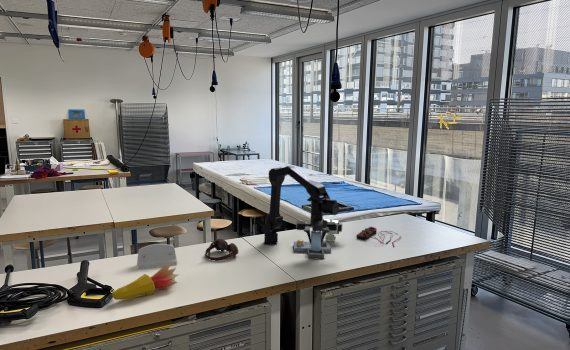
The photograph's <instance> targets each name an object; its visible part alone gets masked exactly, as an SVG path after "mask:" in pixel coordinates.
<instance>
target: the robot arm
mask: <svg viewBox="0 0 570 350" xmlns="http://www.w3.org/2000/svg"><path fill="white" fill-rule="evenodd" d="M286 176H289V177H290V178H292V179H293V180H294V181H296V182H297V183H299V185H301V186H302V187H303V188H304V189H305V191H306V193H307V194H308V195H309V197H308V198H307V199H306V201H307V202H310V221H309V222H310V223H306V221H305V220H303V221H302V220H297V221H296V225H295V226H296V230H297V231H303V233H306V235H307V238H308V242H310V244H311V231H312V230H313V231H321V244H322V242H324V239H325V236H326V235H327V234H328V233H327V232H330V231H336V230H337V225H336V223H335V222H327V220H328V219H326V220H323V219H324V214H327V215H332V216H336V215H338V214H339V210H340V206H339V205H340V204H339V203H338V200H337V199H331V197H330V195H329V194H328V192H327V189H326V186H325V185H324V184H322V183H320V182H319V181H318V182H317V181H314V180H313V179H311V178H310V177H308V176H306V175H305V174H304V173H303V172H301V171H300V170H299V169H297V167H295V165H286V166H284V167H281V166H280V167H274V168H270V169H269V171H268V181H269V184H270V187H271V189H270V198H269V199H270V202H269V213H268V214H267V216H266V220H265V224H264V225H263V226H262V227H261V228H260V230H261V233H263V234H264V235H263V236H264V240H263V241H264V242H263V244H264V245H277V244H278V242H279V241H278V240H279V239H278V238H279V236H278V231H279V230H280V229H281V227H282V225H283V224H284V223H283V221H284V217H283V216H282V215H281V213H280V207H281V193H282V185H283V184H284V181H285V179H286ZM310 229H311V230H310ZM329 230H330V231H329Z"/></svg>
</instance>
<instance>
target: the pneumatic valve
mask: <svg viewBox="0 0 570 350" xmlns="http://www.w3.org/2000/svg"><path fill="white" fill-rule="evenodd" d="M323 220H327V222H335V223H336V225H337V230H336V231H330V230H329V231H330V232H327V233H326V235H325V237H324V239H325V242H329V243H334V241H336V239H337V237H336V235H339V234H340V233H341V232H343V223H342V222H341V220H335V219H333V218H330V219H327V218H326V219H324V218H323Z"/></svg>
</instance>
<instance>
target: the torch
mask: <svg viewBox="0 0 570 350" xmlns="http://www.w3.org/2000/svg"><path fill="white" fill-rule="evenodd" d="M173 262H174V261H173ZM173 262H171V263H169V264H166V265H164V266H163V267H160V268H159V270H158V271H157V272H155V273H154V274H153V275H152V276H149V275H148V274H146V273H144V274H142V275H141V276H139V277H138V278H137V279H135V280H134V281H132V282H130V283H127V284H126V285H123V286H121V287H118V288H117V289H116V290H114V291H113V292H112V294H111V295H112V298H113V299H114V300H118V301H119V300H120V301H123V300H129V299H133V298H137V297H142V296H151V295H154V294H155V293H154V292H155V291H156V290H166V289H168V288H170V287H172V286H173V285H176V284H178V281H177V280H176V277H178V276H180V274H177V273H174V272H175V271H176V269H177V267H173V268H171V267H172V266H171V265H172V263H173Z"/></svg>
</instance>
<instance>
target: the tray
mask: <svg viewBox="0 0 570 350" xmlns="http://www.w3.org/2000/svg"><path fill="white" fill-rule="evenodd" d="M306 253H307V257H308V259H314V260H315V259H320V260H322V259H325V253H324V252H323V250H322V249H321V250H320V251H312V250H311V249H307V252H306Z"/></svg>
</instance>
